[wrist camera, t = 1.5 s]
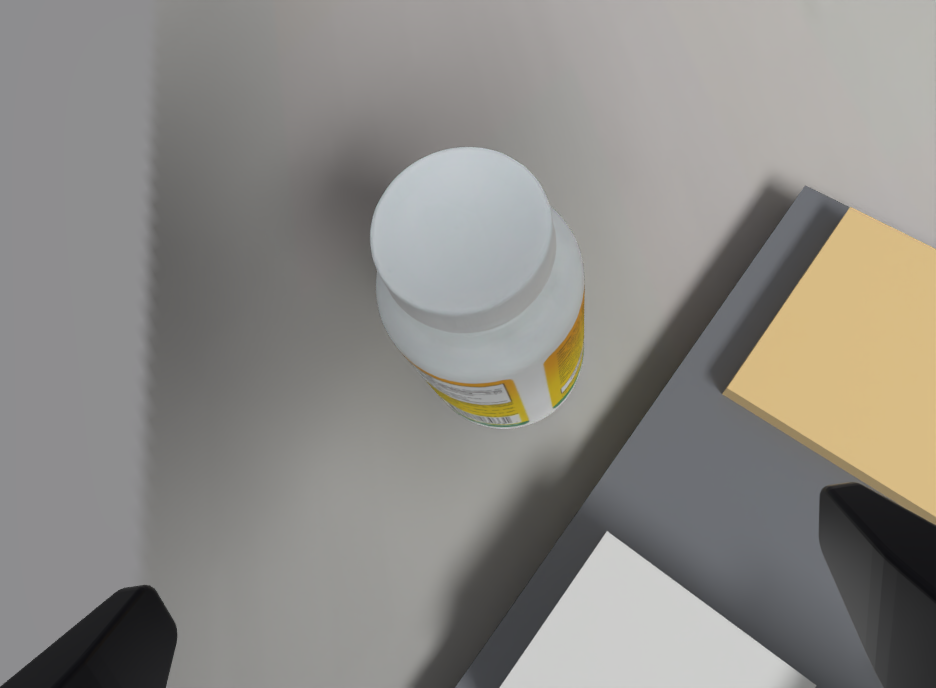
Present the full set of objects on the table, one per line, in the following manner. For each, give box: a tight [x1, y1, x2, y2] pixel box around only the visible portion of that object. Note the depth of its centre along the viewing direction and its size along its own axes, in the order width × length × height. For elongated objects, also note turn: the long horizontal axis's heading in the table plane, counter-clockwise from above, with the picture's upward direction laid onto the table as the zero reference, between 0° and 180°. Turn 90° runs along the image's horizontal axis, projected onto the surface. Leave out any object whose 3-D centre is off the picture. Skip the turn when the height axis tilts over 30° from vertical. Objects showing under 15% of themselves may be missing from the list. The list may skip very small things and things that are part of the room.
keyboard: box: [455, 186, 936, 688], centre depth 17 cm, size 21×18×3 cm
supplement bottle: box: [370, 147, 585, 429], centre depth 19 cm, size 5×5×10 cm
